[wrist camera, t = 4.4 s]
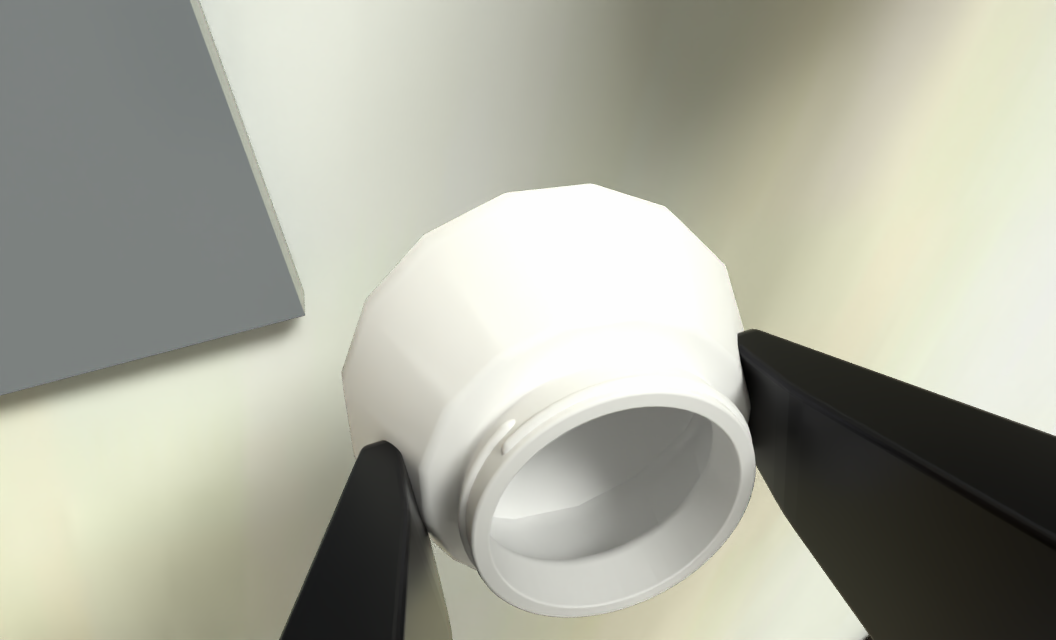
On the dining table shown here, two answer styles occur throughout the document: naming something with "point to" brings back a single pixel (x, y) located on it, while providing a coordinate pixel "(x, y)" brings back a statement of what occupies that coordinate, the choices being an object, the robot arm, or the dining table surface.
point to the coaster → (126, 192)
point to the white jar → (561, 396)
